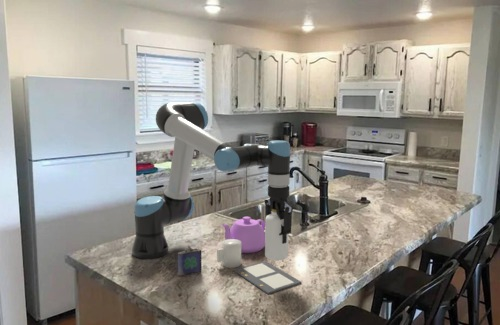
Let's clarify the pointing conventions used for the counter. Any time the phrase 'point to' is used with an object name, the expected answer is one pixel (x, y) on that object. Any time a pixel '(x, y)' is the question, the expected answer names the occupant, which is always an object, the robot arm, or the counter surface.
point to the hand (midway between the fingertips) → (277, 249)
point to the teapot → (247, 234)
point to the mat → (267, 277)
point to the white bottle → (275, 238)
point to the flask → (189, 262)
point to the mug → (230, 253)
